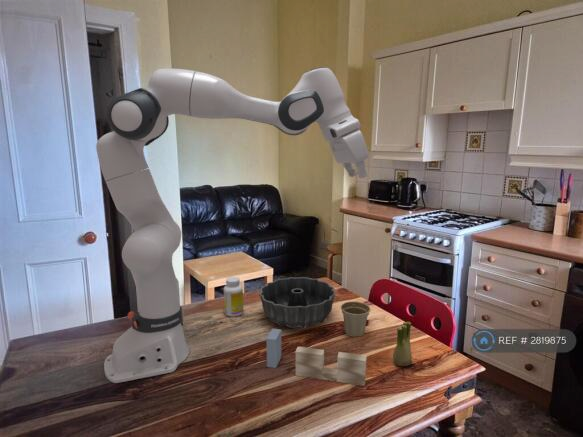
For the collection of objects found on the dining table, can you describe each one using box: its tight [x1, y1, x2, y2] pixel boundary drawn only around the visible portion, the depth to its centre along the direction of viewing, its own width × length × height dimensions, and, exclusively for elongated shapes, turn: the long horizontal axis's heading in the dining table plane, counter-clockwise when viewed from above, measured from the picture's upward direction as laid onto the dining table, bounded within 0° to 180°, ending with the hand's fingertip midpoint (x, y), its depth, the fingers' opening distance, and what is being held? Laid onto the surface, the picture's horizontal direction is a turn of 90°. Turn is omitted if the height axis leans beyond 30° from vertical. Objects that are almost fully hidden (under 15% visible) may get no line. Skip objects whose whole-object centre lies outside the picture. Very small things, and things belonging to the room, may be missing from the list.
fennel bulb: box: [392, 321, 413, 367], centre depth 104 cm, size 6×5×12 cm
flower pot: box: [340, 300, 371, 337], centre depth 121 cm, size 9×9×9 cm
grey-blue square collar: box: [265, 328, 282, 369], centre depth 105 cm, size 6×3×8 cm, turn 166°
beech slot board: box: [295, 346, 367, 387], centre depth 98 cm, size 18×2×7 cm, turn 76°
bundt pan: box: [258, 276, 336, 329], centre depth 132 cm, size 26×26×10 cm
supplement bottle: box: [223, 276, 244, 317], centre depth 134 cm, size 7×7×13 cm
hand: (358, 176), depth 102 cm, fingers open, 8 cm apart
